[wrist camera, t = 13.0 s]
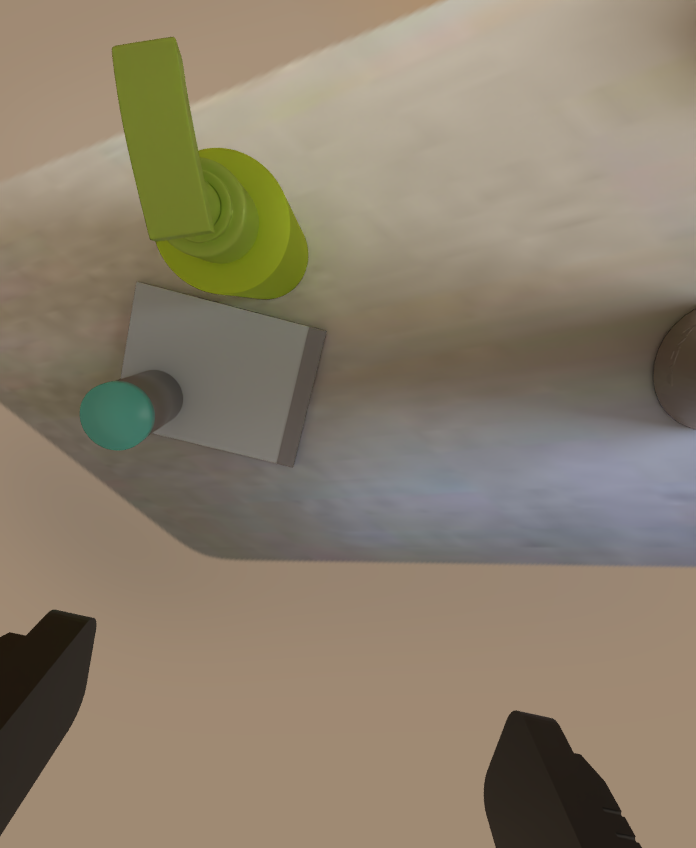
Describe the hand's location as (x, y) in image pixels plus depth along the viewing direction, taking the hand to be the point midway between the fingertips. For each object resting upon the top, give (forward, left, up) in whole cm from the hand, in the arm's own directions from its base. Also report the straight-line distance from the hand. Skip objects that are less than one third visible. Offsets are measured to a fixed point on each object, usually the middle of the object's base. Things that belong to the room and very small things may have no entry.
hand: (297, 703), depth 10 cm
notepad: (+8, 0, -28) cm, 29 cm away
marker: (+12, +2, -27) cm, 30 cm away
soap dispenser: (+7, -10, -28) cm, 31 cm away
